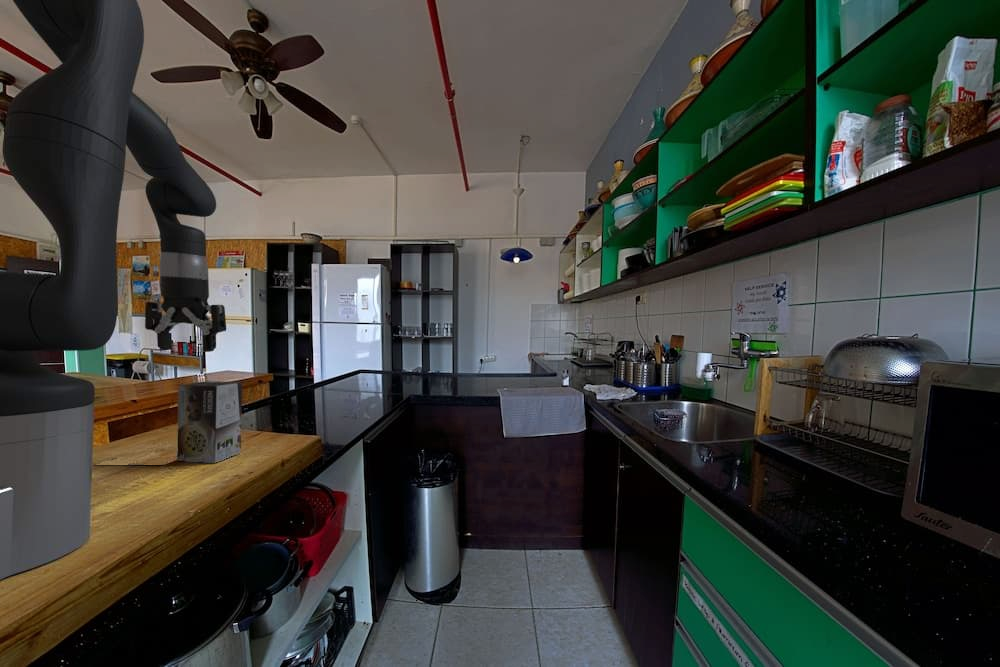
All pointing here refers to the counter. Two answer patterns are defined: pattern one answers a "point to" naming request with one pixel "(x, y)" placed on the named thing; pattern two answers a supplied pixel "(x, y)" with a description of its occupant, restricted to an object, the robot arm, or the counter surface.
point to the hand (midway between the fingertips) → (187, 350)
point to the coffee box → (209, 421)
